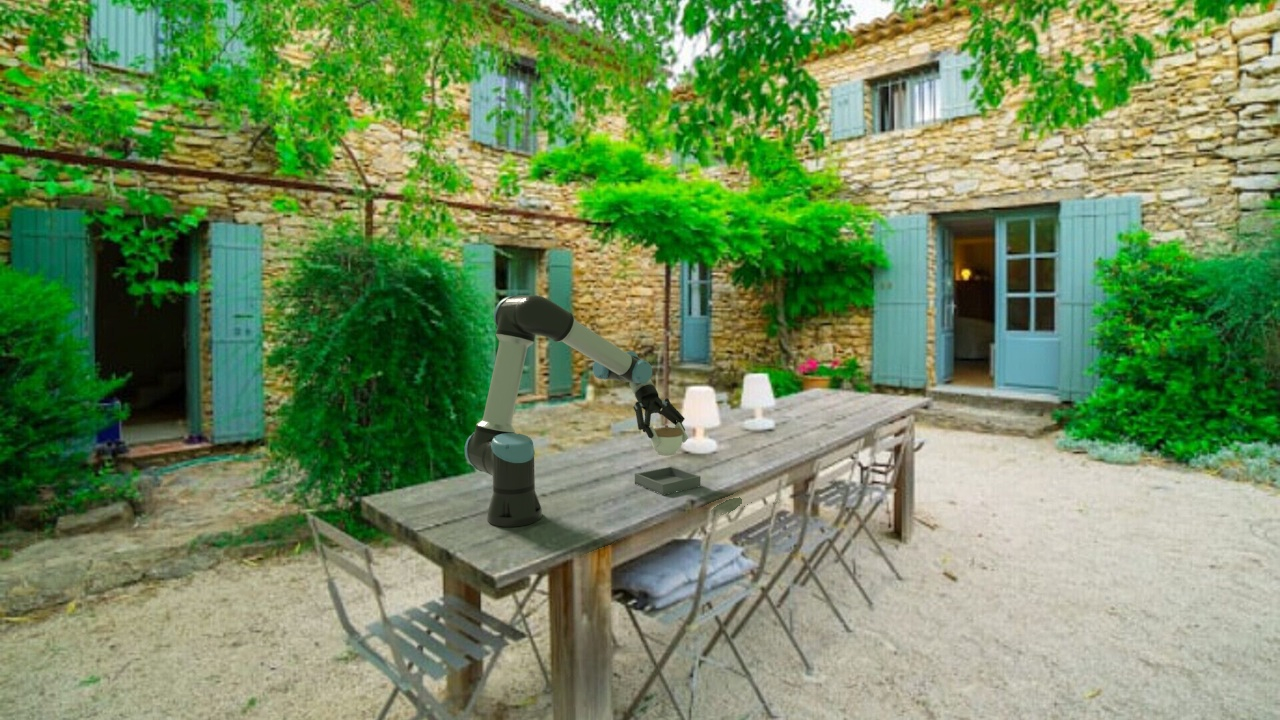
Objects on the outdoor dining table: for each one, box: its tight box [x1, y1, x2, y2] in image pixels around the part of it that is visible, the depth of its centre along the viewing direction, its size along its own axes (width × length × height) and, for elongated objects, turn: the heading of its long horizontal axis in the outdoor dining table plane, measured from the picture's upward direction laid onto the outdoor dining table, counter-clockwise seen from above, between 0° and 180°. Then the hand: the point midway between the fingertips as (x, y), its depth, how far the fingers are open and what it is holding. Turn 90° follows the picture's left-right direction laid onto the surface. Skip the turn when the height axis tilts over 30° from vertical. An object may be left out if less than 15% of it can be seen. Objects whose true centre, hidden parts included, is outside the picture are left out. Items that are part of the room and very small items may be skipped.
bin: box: [634, 466, 701, 496], centre depth 208 cm, size 16×16×4 cm
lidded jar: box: [650, 425, 683, 457], centre depth 206 cm, size 11×11×9 cm
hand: (672, 442), depth 204 cm, fingers closed on lidded jar, 11 cm apart
